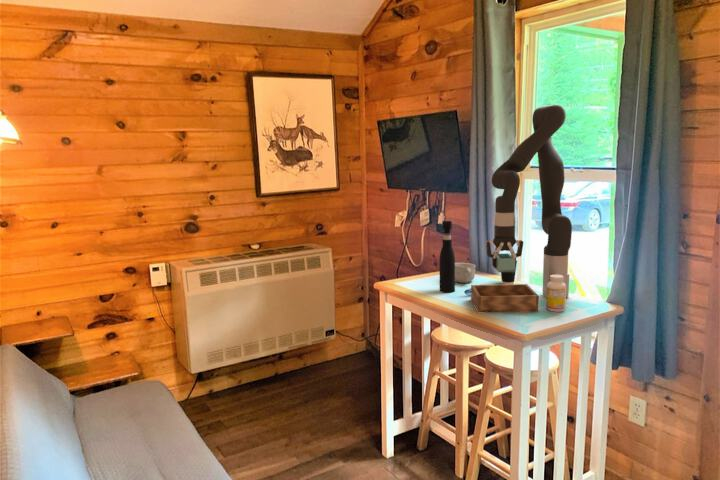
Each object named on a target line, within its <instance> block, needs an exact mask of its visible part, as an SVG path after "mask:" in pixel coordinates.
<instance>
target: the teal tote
mask: <svg viewBox="0 0 720 480" xmlns="http://www.w3.org/2000/svg"><path fill="white" fill-rule="evenodd" d="M496 259H497V268H494V269H496V271H497V272H498V273H501V272H515V258H514V257H513V256H512V255H511V253H508V252H507V253H501V252H500V253H499V254H498V255H497V257H496ZM515 273H516V272H515Z"/></svg>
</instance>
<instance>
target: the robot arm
mask: <svg viewBox="0 0 720 480" xmlns="http://www.w3.org/2000/svg"><path fill="white" fill-rule="evenodd" d="M566 119H567V113H566V110H565V108H564V107H563V106H562V105H560V104H548V105H542V106H538V107H536V108H535V110H534V111H533V114H532V127H533V133H532V134H530V135H529V136H528V137H527V138H525V139H524V140H523V141H522V142H521V143H520V144H519V145H517V147H516V148H515V150H514V151H513V152H512V154H511V155H510V156H509V158H508V159H507V160H506V161H504V162H503V163H502V164H501V165H500V166H498V168H496V170H495V171H494V172H493V174H492V177H491V184H492V186H493V188H495V189H498V190H503V192H502V195H500V196H497V197H496V198H495V202H494V203H495V210H494V211H495V213H494V221H493V223H494V224H493V225H494V227H493V228H494V229H493V231H494V233H493V234H494V235H493V236H494V237H493V239H492V240H485V247H486V248H485V249H486V254H487V257H489V258H491V259H492V260H491V266H492V267H493V268H494V269H495V268H497V259H496V257H497V255H498V254H500V253H501V252H504V251H508V252H510V253H509V254H511V255H512V256H513V257H514V258H515V266H516V267H517V265H516V258H517V259H518V258H519V257H522V254H523V248H524V247H523V246H524V241H523V240H521V239H519V240H517V239H516V212H515V211H516V210H515V207H516V198H517V195H518V192H519V189H520V184H521V178H520V175H519V173H521V172H524V171H525V169H526V168H527V167H528V165H530V163H531V161H532V160H533V158H534V157H535V156H536V155H537V162H538V174H539V175H538V176H539V184H540V185H539V186H540V187H539V188H540V195H541V206H542V207H541V228H542V230H543V232H544V233H545V234H546V235H548V236H547V244H546V245H545V246H544V247H543V261H542V263H543V268H542V270H543V271H542V296H543V297H545V298H547V284H548V282H550V281H551V280H550V275H562V276H563V282H564V283H565V284H566V298H569V293H570V292H569V290H570V274H569V271H568V270H569V267H568V266H569V251H570V249H571V245H572V230H573V227H572V221H571V220H570V218H569V217H567V216H566V215H563V213H562V205H561V197H562V192H563V189H564V185H565V166H564V165H565V164H564V162H563V158H562V157H561V156H560V154H559V152H558V151H557V148H556V147H555V146H554V143H553V139H552V136H553V135H554V134H555V133H556V132H557V131H558V130H559V129H560V128H561V127H562V126H563V125H564V123H565V122H566ZM515 244H516V246H517V250H516V253H515V250H514V248H513V247H514V246H515ZM493 245H494V246H495V248H494V250H493V252H492V248H491V247H492V246H493Z"/></svg>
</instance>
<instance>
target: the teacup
mask: <svg viewBox="0 0 720 480" xmlns="http://www.w3.org/2000/svg"><path fill="white" fill-rule="evenodd" d="M476 266H477V265H476V264H474V263H468V262H455V283H462V284H463V283H465V284H469V283H470V282H471V281H473V280H474V279H475V273H476Z"/></svg>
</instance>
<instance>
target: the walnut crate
mask: <svg viewBox="0 0 720 480" xmlns="http://www.w3.org/2000/svg"><path fill="white" fill-rule="evenodd" d="M470 300H471V302H472V304H473V306H474V305H475V306H474V308H475V307H476V308H475V310H476V309H477V310H476V311H477V313H478V312H485V313H538V312H539V310H540V309H539V305H540V302H539V301H540V296H539V294H537V293H536V291H535V290H534V289H532V287H531V286H529V284H527V283H523V284H522V283H516V284H514V283H513V284H471V286H470Z"/></svg>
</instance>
